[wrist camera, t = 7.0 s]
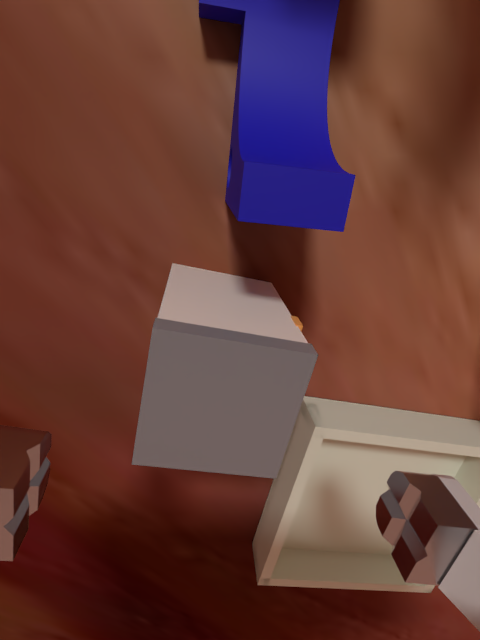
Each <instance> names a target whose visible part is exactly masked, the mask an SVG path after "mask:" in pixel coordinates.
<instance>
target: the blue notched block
mask: <svg viewBox="0 0 480 640" xmlns="http://www.w3.org/2000/svg"><path fill="white" fill-rule="evenodd" d="M339 2H340V0H199V17H201V18H206V19H212V20H218V21H224V22H229V23H235V24H241V25H242V26H241V37H240V48H239V59H238V69H237V80H236V91H235V102H234V112H233V123H232V134H231V145H230V155H229V166H228V177H227V188H226V198H225V202H226V203H227V205H228V206H229V208H230V209H231V211H232V212H233V214H234V216H235V217H236V219H237V220H238V221H243V222H253V223H262V224H272V225H282V226H292V227H301V228H311V229H321V230H331V231H340V232H343V231H344V226H345V221H346V217H347V212H348V207H349V203H350V198H351V193H352V189H353V184H354V179H355V175H353V174H349V173H347V172H346V171H344V170H343V169H342V168H341V167H340V166H339V164H338V163H337V161H336V159H335V157H334V155H333V152H332V148H331V145H330V140H329V134H328V124H327V88H328V74H329V64H330V56H331V48H332V41H333V35H334V29H335V23H336V17H337V12H338V7H339Z"/></svg>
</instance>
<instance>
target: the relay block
mask: <svg viewBox="0 0 480 640" xmlns="http://www.w3.org/2000/svg"><path fill="white" fill-rule="evenodd" d="M302 328H303V325H302V323H301V322H300V320H299V319H298V317H296V316H291V314H290V312H289V311H288V309H287V307H286V306H285V304H284V302H283V301H282V299H281V298H280V296H279V294H278V293H277V291H276V289H275V288H274V286H273V284H272V283H271V282H266V281H261V280H256V279H251V278H245V277H240V276H235V275H230V274H225V273H220V272H215V271H210V270H204V269H199V268H194V267H189V266H184V265H179V264H174V263H173V264H172V267H171V271H170V275H169V278H168V282H167V286H166V289H165V293H164V297H163V300H162V304H161V308H160V311H159V315H158V318H155V322H154V325H153V329H152V336H151V342H150V349H149V355H148V361H147V368H146V374H145V381H144V387H143V394H142V400H141V407H140V413H139V420H138V426H137V433H136V439H135V446H134V452H133V459H132V464H133V465H143V466H153V467H163V468H173V469H183V470H194V471H204V472H214V473H224V474H234V475H244V476H254V477H265V478H275V479H276V478H277V475H278V472H279V469H280V466H281V463H282V460H283V457H284V454H285V451H286V448H287V445H288V442H289V439H290V436H291V433H292V430H293V428H294V425H295V422H296V419H297V416H298V413H299V410H300V407H301V404H302V401H303V398H304V395H305V392H306V389H307V386H308V383H309V380H310V378H311V375H312V372H313V369H314V366H315V363H316V360H317V357H318V354H317V352H316V351H315V349H314V347H313V346H312V344H309V343H308V342H307V341H306V339H305V337H304V336H303V334H302V332H301V331H302Z"/></svg>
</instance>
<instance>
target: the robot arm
mask: <svg viewBox="0 0 480 640" xmlns="http://www.w3.org/2000/svg"><path fill="white" fill-rule="evenodd" d="M50 448H51V433H50V432H48V431H41V430H33V429H26V428H19V427H11V426H4V425H0V561H13V560H14V558H15V556H16V554H17V552H18V549H19V547H20V545H21V543H22V541H23V539H24V537H25V535H26V533H27V531H28V525H29V515H31V514H32V513H33V512H35V511H36V510H38V508H39V505H40V503H41V501H42V499H43V496H44V493H45V490H46V487H47V484H48V479H49V474H50V462H49V461H48V459H47V458H46V456H47V454H48V452H49V450H50ZM387 485H388V488H389V490H387V491H386V492H385V493H383V494H382V495H380V497H379V500H378V502H377V504H376V521H377V525H378V528H379V530H380V532H381V534H382V536H383V537H384V538H385V539H386V540H387V541H388V542H389V543H390V544H391V545H392V552H391V555H392V557H393V559H394V561H395V563H396V565H397V567H398V569H399V571H400V573H401V575H402V577H403V579H404V581H405V583H416V584H427V585H438V586H439V587H438V588H439V589H440V590H441V591H442V592H443V593H444V594H445V595H446V596H447V597H448V598H449V600H450V601H451V602H452V603H453V604H454V605H455V606H456V607H457V608H458V609H459V610H460V611H461V612H462V613H463V614H464V615H465V617H466V618H467V619H468V620H469V621H470V622H471V623H472V624H473V625H474V626H475V627H476V628H477V629H478V630H479V631H480V507H479V506H478V505H477V504H476V503H475V501H474V500H473V499H472V498H471V496H470V495H469V494H468V493H467V492H466V490H465V489H464V488H463V487H462V485H461V484H460V483H459V482H458V481H457V480H456V479H455V478H453V477H452V476H448V475H437V474H424V473H414V472H404V471H394V472H393V473H392V474H391V475H390V477H389V479H388V481H387Z"/></svg>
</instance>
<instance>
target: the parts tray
mask: <svg viewBox="0 0 480 640" xmlns="http://www.w3.org/2000/svg"><path fill="white" fill-rule="evenodd" d="M394 471H404V472H414V473H424V474H437V475H448V476H452V477H453V478H455V479H456V480H457V481H458V482H459V483H460V484H461V485H462V487H463V488H464V489H465V490H466V492H467V493H468V494H469V495H470V496H471V498H472V499H473V500H474V501H475V503H476V504H477V505H478V506H479V507H480V421H477V420H470V419H463V418H456V417H449V416H442V415H434V414H427V413H420V412H413V411H406V410H399V409H392V408H385V407H378V406H371V405H364V404H357V403H349V402H342V401H335V400H328V399H321V398H314V397H307V396H304V398H303V401H302V404H301V407H300V410H299V413H298V416H297V419H296V422H295V425H294V428H293V430H292V433H291V436H290V439H289V442H288V445H287V448H286V451H285V454H284V457H283V460H282V463H281V466H280V469H279V472H278V475H277V478H276V479H275V478H274V480H273V483H272V486H271V489H270V492H269V495H268V498H267V501H266V504H265V507H264V510H263V512H262V515H261V518H260V521H259V524H258V527H257V530H256V533H255V536H254V539H253V542H252V548H253V556H254V563H255V570H256V577H257V585H267V586H289V587H311V588H334V589H356V590H378V591H400V592H422V593H431V591H432V590H433V588H434V587H435V585H427V584H416V583H405V581H404V579H403V577H402V575H401V573H400V571H399V569H398V567H397V565H396V563H395V561H394V559H393V557H392V555H391V552H392V545H391V544H390V543H389V542H388V541H387V540H386V539H385V538H384V537H383V536H382V534H381V532H380V530H379V528H378V525H377V521H376V504H377V502H378V500H379V497H380V495H382V494H383V493H385V492H386V491H387V490H389V488H388V485H387V481H388V479H389V477H390V475H391V474H392V473H393V472H394Z"/></svg>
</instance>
